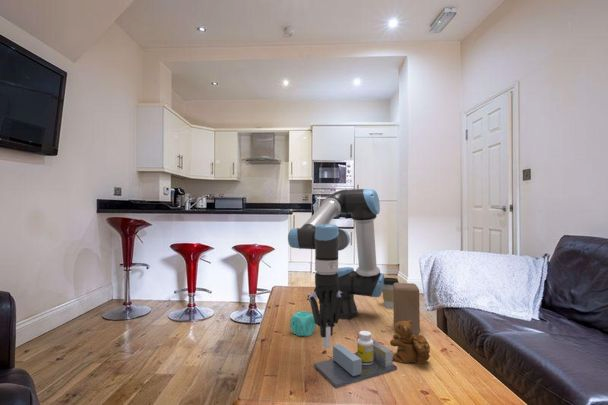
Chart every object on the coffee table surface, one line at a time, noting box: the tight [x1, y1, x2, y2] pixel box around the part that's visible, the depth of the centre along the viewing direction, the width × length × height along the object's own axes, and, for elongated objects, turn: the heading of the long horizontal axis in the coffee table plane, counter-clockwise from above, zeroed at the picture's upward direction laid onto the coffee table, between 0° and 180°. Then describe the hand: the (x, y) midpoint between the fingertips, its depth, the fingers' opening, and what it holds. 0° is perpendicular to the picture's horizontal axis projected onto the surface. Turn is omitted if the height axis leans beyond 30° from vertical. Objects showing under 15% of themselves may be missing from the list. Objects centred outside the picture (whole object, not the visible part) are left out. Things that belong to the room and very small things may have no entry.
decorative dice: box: [289, 310, 317, 337], centre depth 131 cm, size 8×8×8 cm
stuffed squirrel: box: [389, 320, 431, 364], centre depth 107 cm, size 10×14×13 cm
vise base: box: [313, 337, 398, 389], centre depth 101 cm, size 14×24×6 cm, turn 116°
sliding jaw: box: [332, 343, 361, 376], centre depth 100 cm, size 12×4×5 cm, turn 26°
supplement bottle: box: [356, 330, 374, 365], centre depth 104 cm, size 5×5×10 cm
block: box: [392, 282, 421, 335], centre depth 133 cm, size 10×10×20 cm
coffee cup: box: [382, 277, 400, 309], centre depth 167 cm, size 10×10×15 cm
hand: (326, 346), depth 96 cm, fingers closed
